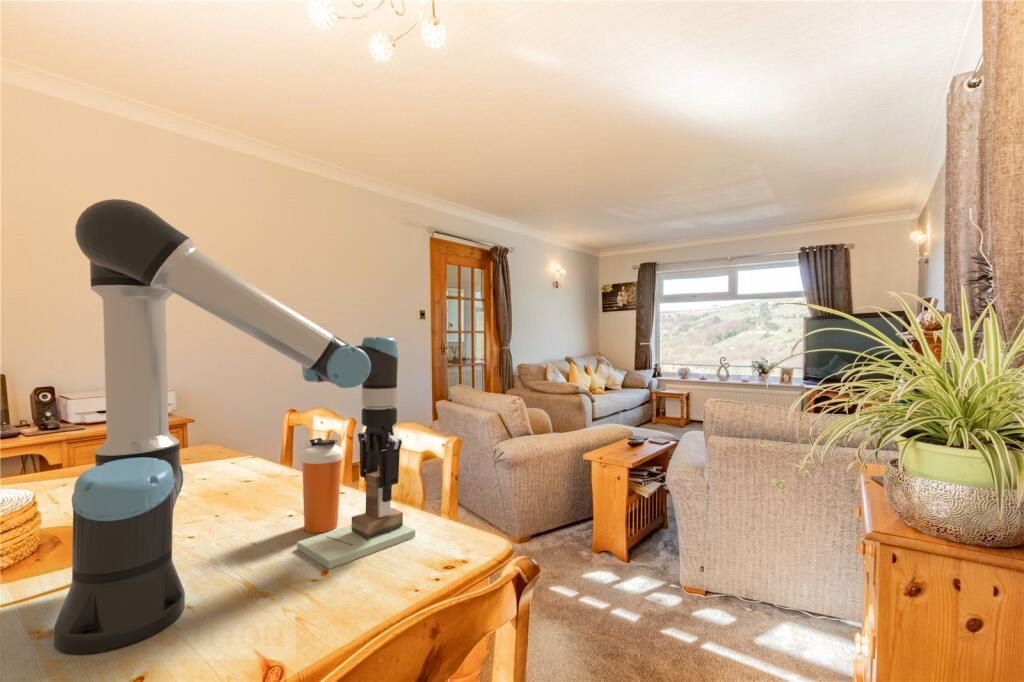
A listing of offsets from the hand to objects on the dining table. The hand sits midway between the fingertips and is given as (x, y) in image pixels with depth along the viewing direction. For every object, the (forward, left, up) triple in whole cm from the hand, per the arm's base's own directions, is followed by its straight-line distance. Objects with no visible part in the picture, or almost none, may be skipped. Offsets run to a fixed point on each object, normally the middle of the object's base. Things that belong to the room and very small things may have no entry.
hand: (378, 513), depth 104 cm
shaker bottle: (-6, +14, -5) cm, 16 cm away
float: (0, 0, -3) cm, 3 cm away
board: (-5, 0, -5) cm, 7 cm away
